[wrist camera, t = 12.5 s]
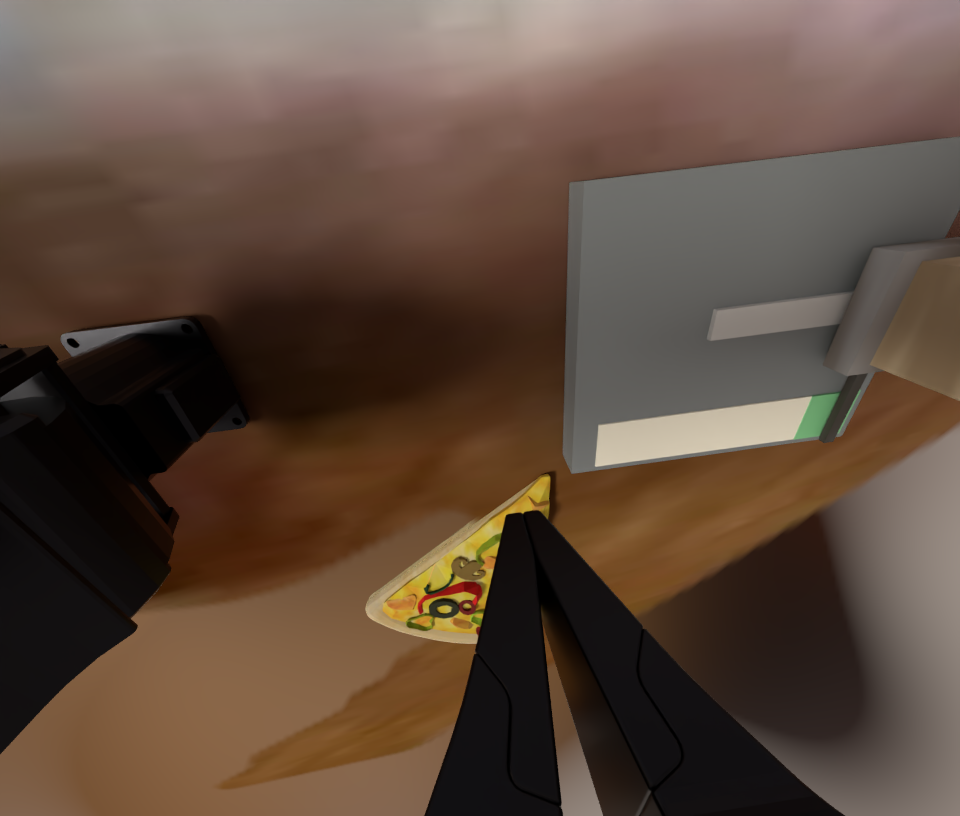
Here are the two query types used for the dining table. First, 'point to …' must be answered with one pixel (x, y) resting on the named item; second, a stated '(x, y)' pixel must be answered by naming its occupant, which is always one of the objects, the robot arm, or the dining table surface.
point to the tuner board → (729, 295)
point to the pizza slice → (453, 577)
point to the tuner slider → (900, 323)
